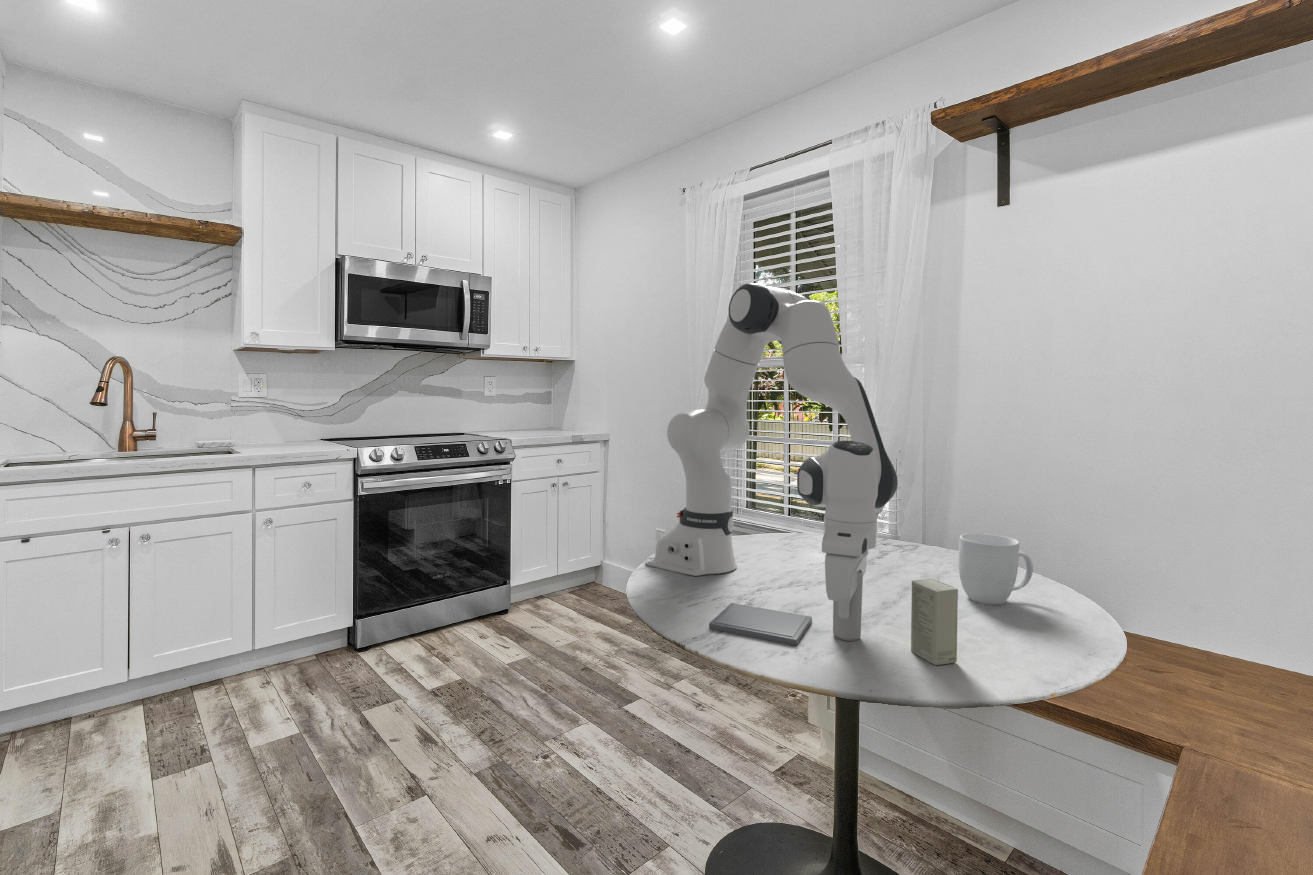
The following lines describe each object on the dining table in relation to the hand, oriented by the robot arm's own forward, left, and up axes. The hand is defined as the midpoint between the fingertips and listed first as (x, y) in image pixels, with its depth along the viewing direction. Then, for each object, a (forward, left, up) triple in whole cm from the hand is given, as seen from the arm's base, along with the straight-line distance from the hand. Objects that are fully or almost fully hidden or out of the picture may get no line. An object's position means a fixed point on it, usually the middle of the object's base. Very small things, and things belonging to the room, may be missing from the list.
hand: (847, 611), depth 108 cm
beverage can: (0, 0, -5) cm, 5 cm away
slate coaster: (-15, -2, -5) cm, 16 cm away
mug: (+24, +34, -5) cm, 42 cm away
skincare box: (+14, -2, -5) cm, 15 cm away
